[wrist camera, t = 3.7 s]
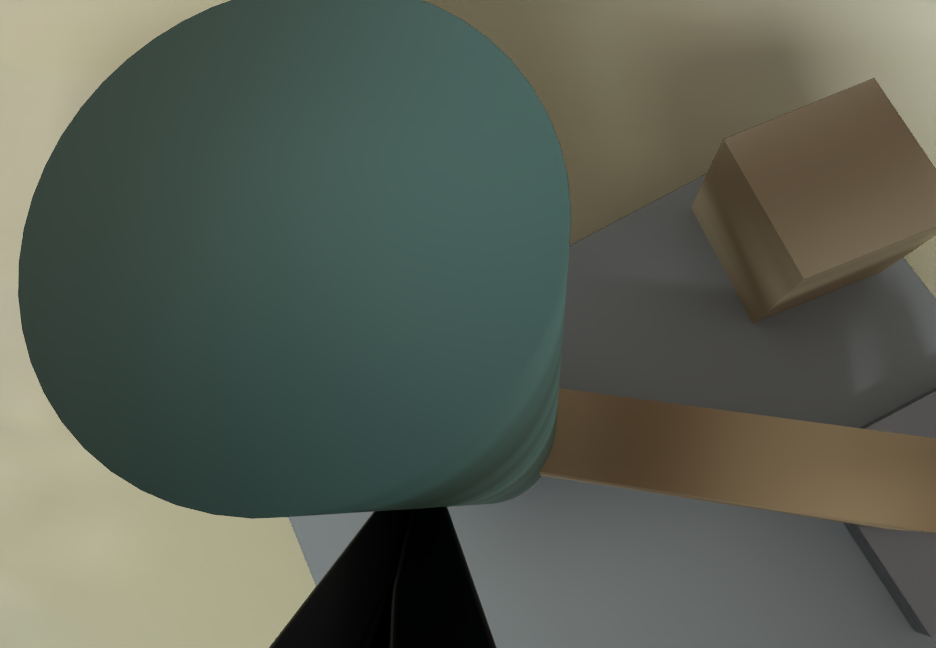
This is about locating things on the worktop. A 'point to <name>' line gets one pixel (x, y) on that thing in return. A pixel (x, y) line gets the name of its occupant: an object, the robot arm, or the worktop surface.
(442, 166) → the gate
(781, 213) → the block
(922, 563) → the post on square base
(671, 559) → the yard mat
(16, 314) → the worktop surface
